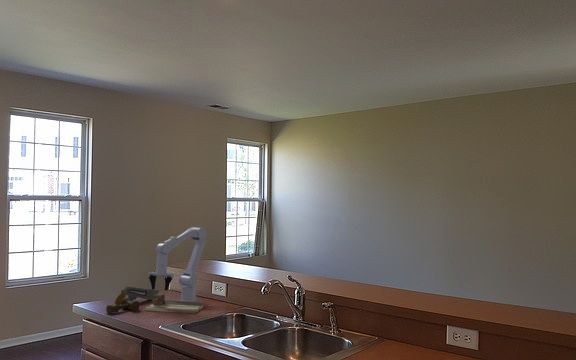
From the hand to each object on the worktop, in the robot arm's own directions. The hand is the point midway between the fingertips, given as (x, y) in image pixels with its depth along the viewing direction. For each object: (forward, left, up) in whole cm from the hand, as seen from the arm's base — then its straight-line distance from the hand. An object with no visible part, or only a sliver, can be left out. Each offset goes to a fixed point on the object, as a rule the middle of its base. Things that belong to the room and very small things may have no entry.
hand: (159, 289), depth 271 cm
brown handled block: (+2, 0, -8) cm, 9 cm away
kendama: (+11, -15, -10) cm, 21 cm away
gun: (-10, -19, -10) cm, 24 cm away
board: (+2, +10, -10) cm, 14 cm away
